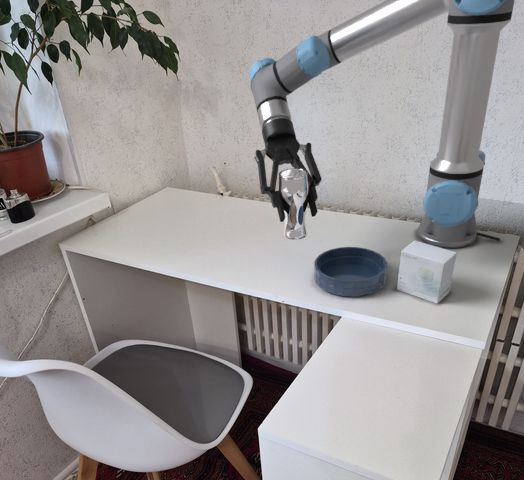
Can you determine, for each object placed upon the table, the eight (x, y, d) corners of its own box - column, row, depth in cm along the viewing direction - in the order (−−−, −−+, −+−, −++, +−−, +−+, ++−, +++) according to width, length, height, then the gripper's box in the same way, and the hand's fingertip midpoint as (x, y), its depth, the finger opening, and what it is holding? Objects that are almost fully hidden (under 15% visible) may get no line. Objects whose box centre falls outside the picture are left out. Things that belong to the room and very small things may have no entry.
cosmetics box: (395, 290, 119) (400, 249, 113) (409, 279, 123) (414, 239, 117) (437, 304, 114) (444, 262, 107) (450, 292, 117) (458, 251, 111)
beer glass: (307, 241, 121) (306, 178, 111) (278, 240, 122) (275, 178, 113) (311, 228, 126) (310, 167, 117) (283, 228, 127) (280, 167, 118)
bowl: (385, 264, 130) (387, 248, 127) (385, 300, 116) (387, 283, 114) (318, 261, 133) (318, 245, 130) (310, 296, 119) (310, 279, 117)
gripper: (313, 129, 125) (335, 216, 123) (234, 140, 122) (255, 230, 120) (320, 110, 118) (344, 203, 115) (237, 122, 115) (259, 217, 112)
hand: (298, 216), depth 118 cm, fingers closed on beer glass, 7 cm apart
